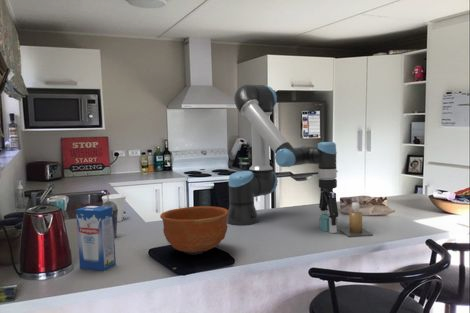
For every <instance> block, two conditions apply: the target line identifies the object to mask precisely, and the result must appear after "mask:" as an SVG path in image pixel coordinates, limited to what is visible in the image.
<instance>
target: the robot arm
mask: <svg viewBox="0 0 470 313" xmlns="http://www.w3.org/2000/svg"><path fill="white" fill-rule="evenodd" d="M233 97H234V98H233V99H234V100H233V101H234V105H235V107H236V109H237V110H238V112H239V113H240V114H241V116H244V117H246V119H247V120H248V121H249V122H250V123H251V162H252V163H251V164H252V165H251V166H250V167H249V169H248V170H247V171H246V170H243V171H236V172H233V173H231V174H230V175H229V177H228V193H229V194H228V196H229V206H228V207H229V208H228V209H227V210H228V211H229V214H228V216H227V224H229V225H236V226H246V225H253V224H256V223H258V222H259V215H258V213H257V209H256V206H255V198H257V197H262V196H267V195H269V194H272V193H273V192H274V191H275V190H276V189H277V186H278V177H277V175H276V173H275V172H274V170H273V167H272V166H271V165H270V149H271V150H272V151H273V153H274V154H275V155H274V159H275V163H276V165H278V167H281V168H290V167H294V166H295V167H296V166H301V165H308V164H309V165H312V164H313V165H317V168H318V172H317V175H318V178H319V179H318V188H320V195H319V205H318V208H319V209H320V215H321V214H330V216H329V224H330V231H329V234H334V233H335V234H337V233H338V232H337V231H338V224H337V225H336V218H338V217H339V209H338V203H337V193H336V192H334V189H336V188H337V187H338V180H337V175H338V174H337V173H338V172H339V171H338V170H337V144H336V143H335V142H333V141H320V142H318V143H317V146H306V145H303V146H301V145H300V146H297V147H294V146H293V145H291V143H290V142H289V140H287V139H286V137H285V136H284V135H283V133H282V132H281V131H280V130H279V128H278V127H277V126H276V125H275V124H274V122H272V120H271V119H270V117H271V115H272V114H273V109H274V108H275V106H276V104H277V102H278V99H277V98H278V96H277V93H276V92H275V89H273V87H271V86H270V85H269V86H268V85H265V84H243V85H241V86H239V87H238V88H237V89H236V91H235V93H234V95H233Z"/></svg>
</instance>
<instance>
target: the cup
mask: <svg viewBox="0 0 470 313" xmlns="http://www.w3.org/2000/svg"><path fill="white" fill-rule="evenodd" d="M108 196H109V201H111V202H114V203H115V204H116V206H117V209H118V214H117V223H118V222H121V221H123V218H124V211H125V204H126V198H127V195H126V194H124V193H123V194H121V193H119V194H117V193H114V194H108ZM101 200H102V205H103V204H104V203H105V202H107V201H108V199H107V194H106V195H103V196H102V197H101Z"/></svg>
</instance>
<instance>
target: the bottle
mask: <svg viewBox="0 0 470 313" xmlns="http://www.w3.org/2000/svg"><path fill="white" fill-rule="evenodd" d="M348 213H349V215H348V216H349V218H348V221H349V225H348V226H349V228H341V229H339V232H341V233H342V234H344V235H345V236H346V237H347V238H357V237H359V238H360V237H373V236H374V234H373V233H371V231H368V230H367V229H366V228H364V227H363V212H362V211H360V202H359V201H357V202H356V201H353V202H351V211H349V212H348Z"/></svg>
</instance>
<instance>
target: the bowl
mask: <svg viewBox="0 0 470 313" xmlns="http://www.w3.org/2000/svg"><path fill="white" fill-rule="evenodd" d="M228 210H229V209H227V208H225V207H220V206H211V205H210V206H209V205H208V206H205V205H201V206H200V205H199V206H187V207H180V208H175V209H174V208H173V209H169V210H166V211H164V212H162V213H161V214H160V215H159V217H160V219H162V224H163V231H162V232H163V234H164V237H165V239H166V241H167V243H169V244H170V245H171V247H173V249H174V250H177V251H179V252H184V253H185V252H189V253H197V252H202V251H206V252H207V251H209V250H211V249H214V248H215V247H217V246H218V245H219V244H220V243H221V242H222V240H224V239H225V237H226V234H227V232H228V227H229V226H228V223H227V216H228V214H229V211H228Z"/></svg>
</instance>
